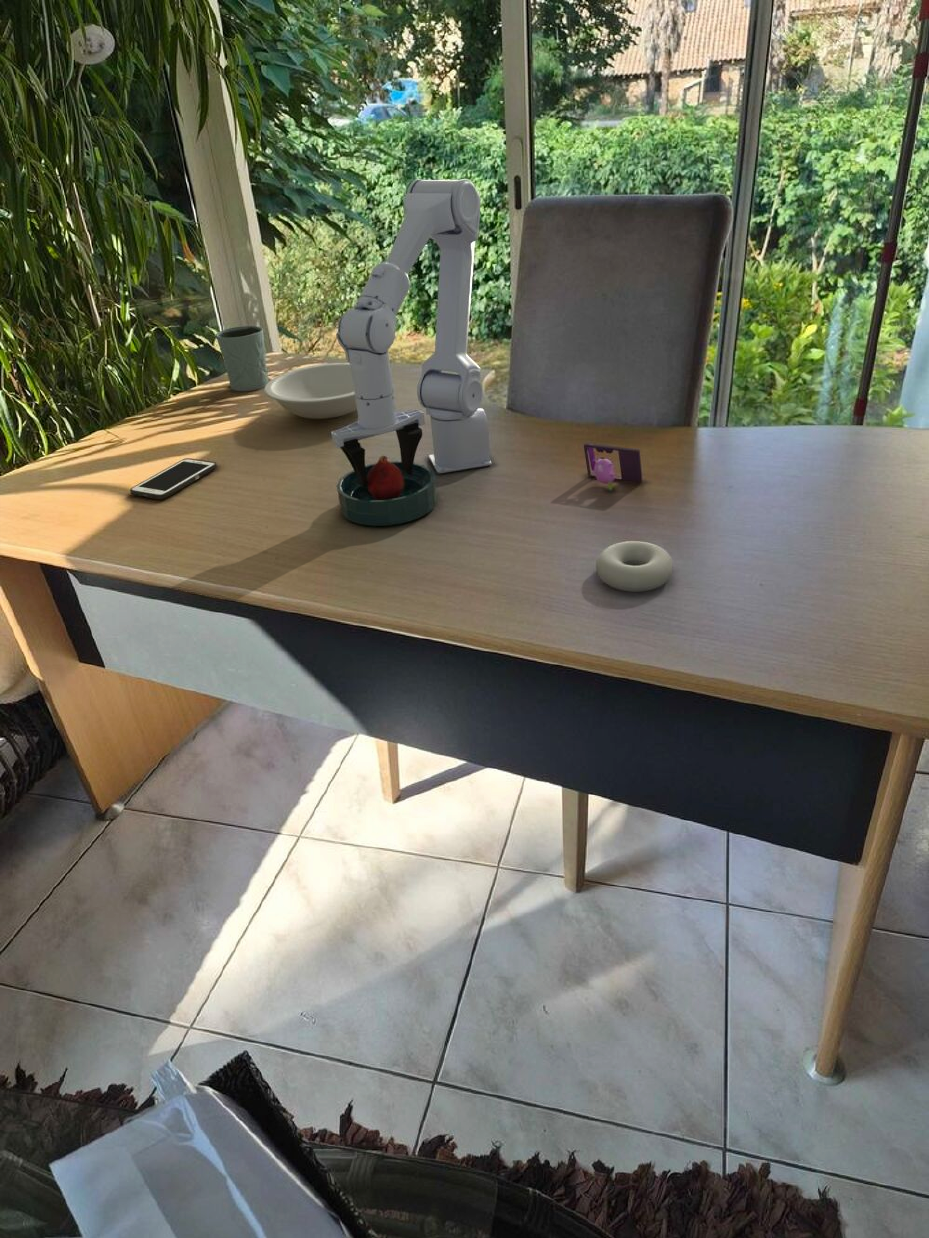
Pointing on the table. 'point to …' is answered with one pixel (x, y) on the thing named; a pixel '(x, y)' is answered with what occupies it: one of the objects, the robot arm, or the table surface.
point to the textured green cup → (244, 357)
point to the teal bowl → (404, 508)
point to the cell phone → (173, 478)
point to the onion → (385, 480)
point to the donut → (634, 566)
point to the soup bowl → (315, 391)
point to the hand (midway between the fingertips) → (385, 478)
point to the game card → (604, 467)
